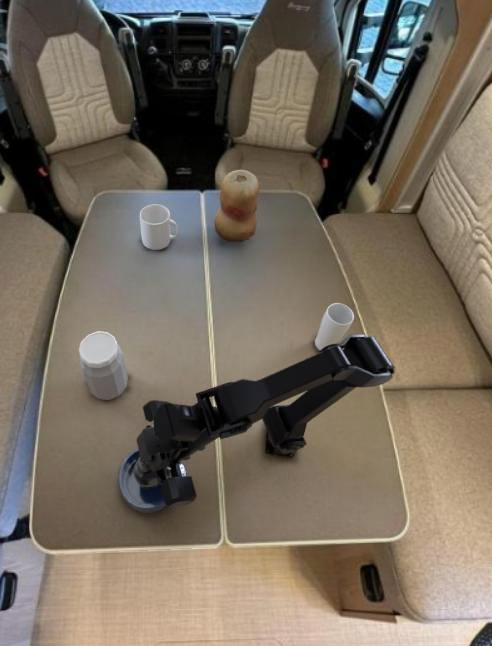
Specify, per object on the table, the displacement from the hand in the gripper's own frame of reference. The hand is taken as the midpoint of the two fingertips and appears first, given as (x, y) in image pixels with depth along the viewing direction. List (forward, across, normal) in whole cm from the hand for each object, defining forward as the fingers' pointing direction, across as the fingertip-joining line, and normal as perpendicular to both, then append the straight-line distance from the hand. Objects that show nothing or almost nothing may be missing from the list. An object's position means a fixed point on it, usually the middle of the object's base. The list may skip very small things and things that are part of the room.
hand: (140, 468), depth 81 cm
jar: (+11, -25, +6) cm, 28 cm away
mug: (-6, -71, +24) cm, 75 cm away
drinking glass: (-30, -20, +48) cm, 60 cm away
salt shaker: (+4, 0, +6) cm, 7 cm away
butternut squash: (-23, -66, +41) cm, 81 cm away
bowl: (+8, 0, +9) cm, 12 cm away
